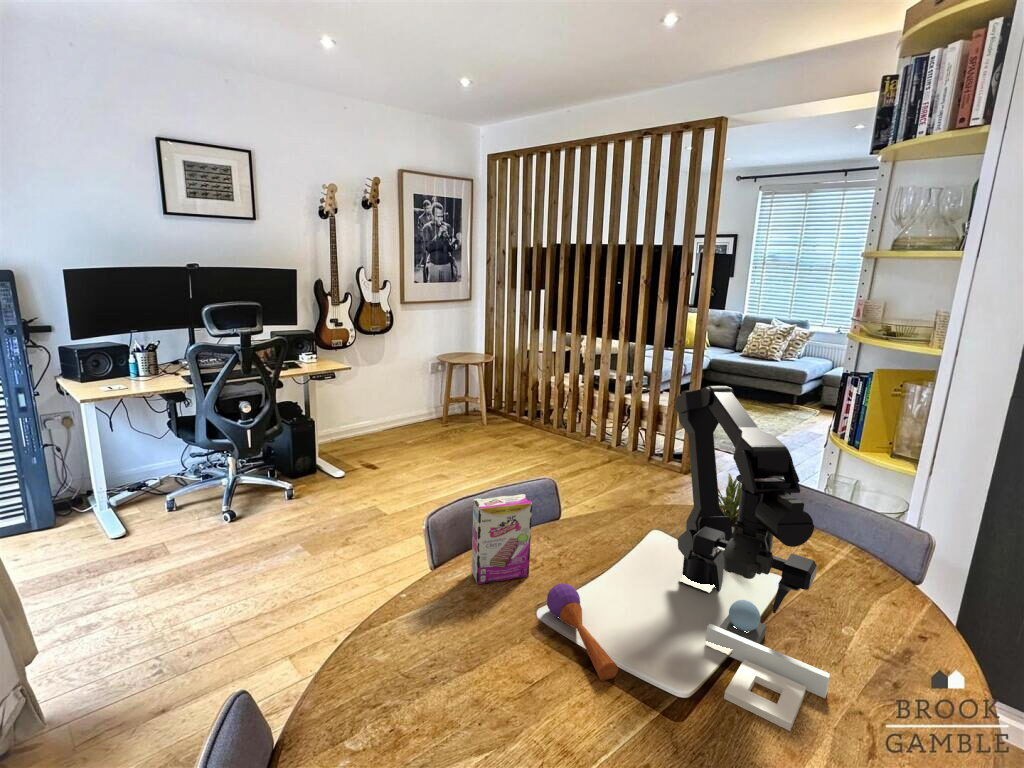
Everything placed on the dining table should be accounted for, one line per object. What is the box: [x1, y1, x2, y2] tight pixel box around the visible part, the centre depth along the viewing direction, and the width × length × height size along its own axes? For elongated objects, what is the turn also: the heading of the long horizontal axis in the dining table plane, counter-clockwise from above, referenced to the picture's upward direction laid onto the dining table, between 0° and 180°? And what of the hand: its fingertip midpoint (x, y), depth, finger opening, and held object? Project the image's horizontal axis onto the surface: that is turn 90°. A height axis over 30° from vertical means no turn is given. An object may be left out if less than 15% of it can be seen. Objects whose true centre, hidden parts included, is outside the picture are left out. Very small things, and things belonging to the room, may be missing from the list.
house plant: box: [718, 472, 741, 534], centre depth 127 cm, size 14×14×16 cm
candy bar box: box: [471, 493, 533, 585], centre depth 111 cm, size 11×5×16 cm, turn 108°
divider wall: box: [705, 623, 831, 699], centre depth 88 cm, size 18×1×4 cm, turn 51°
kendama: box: [546, 583, 619, 682], centre depth 94 cm, size 6×6×20 cm
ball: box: [728, 599, 761, 632], centre depth 95 cm, size 5×5×5 cm
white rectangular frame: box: [723, 660, 807, 732], centre depth 82 cm, size 9×9×1 cm
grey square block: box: [719, 614, 767, 645], centre depth 96 cm, size 6×6×2 cm
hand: (745, 601), depth 94 cm, fingers open, 9 cm apart
